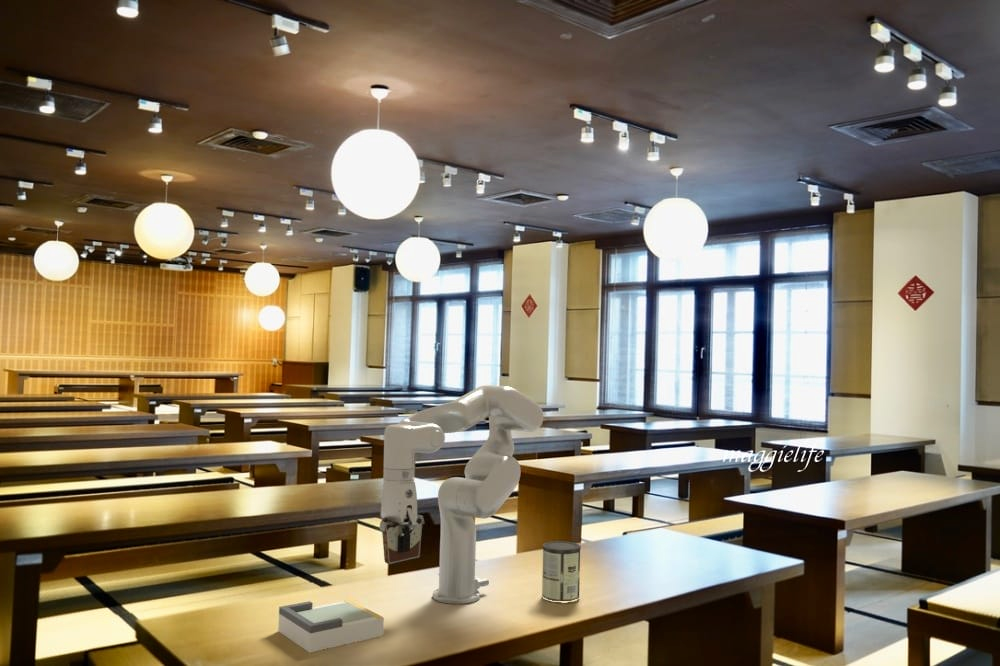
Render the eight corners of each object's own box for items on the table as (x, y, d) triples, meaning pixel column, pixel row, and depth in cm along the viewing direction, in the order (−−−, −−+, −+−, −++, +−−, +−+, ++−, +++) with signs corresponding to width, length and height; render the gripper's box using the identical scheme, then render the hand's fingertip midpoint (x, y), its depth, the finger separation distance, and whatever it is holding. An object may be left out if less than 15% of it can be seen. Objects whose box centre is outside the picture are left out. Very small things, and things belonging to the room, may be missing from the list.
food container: (408, 551, 197) (409, 511, 197) (424, 555, 193) (424, 515, 193) (368, 560, 188) (369, 519, 189) (383, 565, 184) (384, 523, 184)
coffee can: (553, 590, 216) (554, 539, 216) (586, 597, 210) (587, 544, 210) (534, 598, 207) (535, 545, 208) (568, 606, 201) (569, 551, 202)
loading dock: (348, 616, 188) (349, 593, 188) (383, 635, 176) (383, 611, 176) (278, 631, 176) (279, 606, 177) (309, 652, 164) (310, 626, 164)
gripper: (431, 478, 186) (429, 554, 186) (393, 469, 200) (391, 540, 199) (404, 481, 182) (403, 559, 181) (367, 471, 195) (366, 544, 194)
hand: (397, 548), depth 190 cm, fingers closed on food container, 5 cm apart
